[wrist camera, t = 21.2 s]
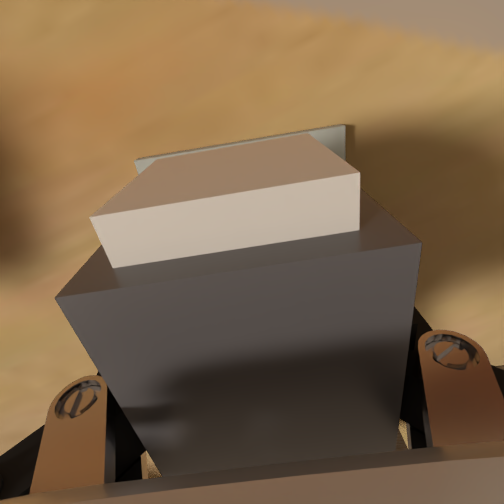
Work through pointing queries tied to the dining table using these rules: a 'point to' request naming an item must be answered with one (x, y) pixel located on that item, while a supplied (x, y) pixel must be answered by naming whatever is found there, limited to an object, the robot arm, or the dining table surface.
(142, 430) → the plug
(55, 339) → the dining table surface
